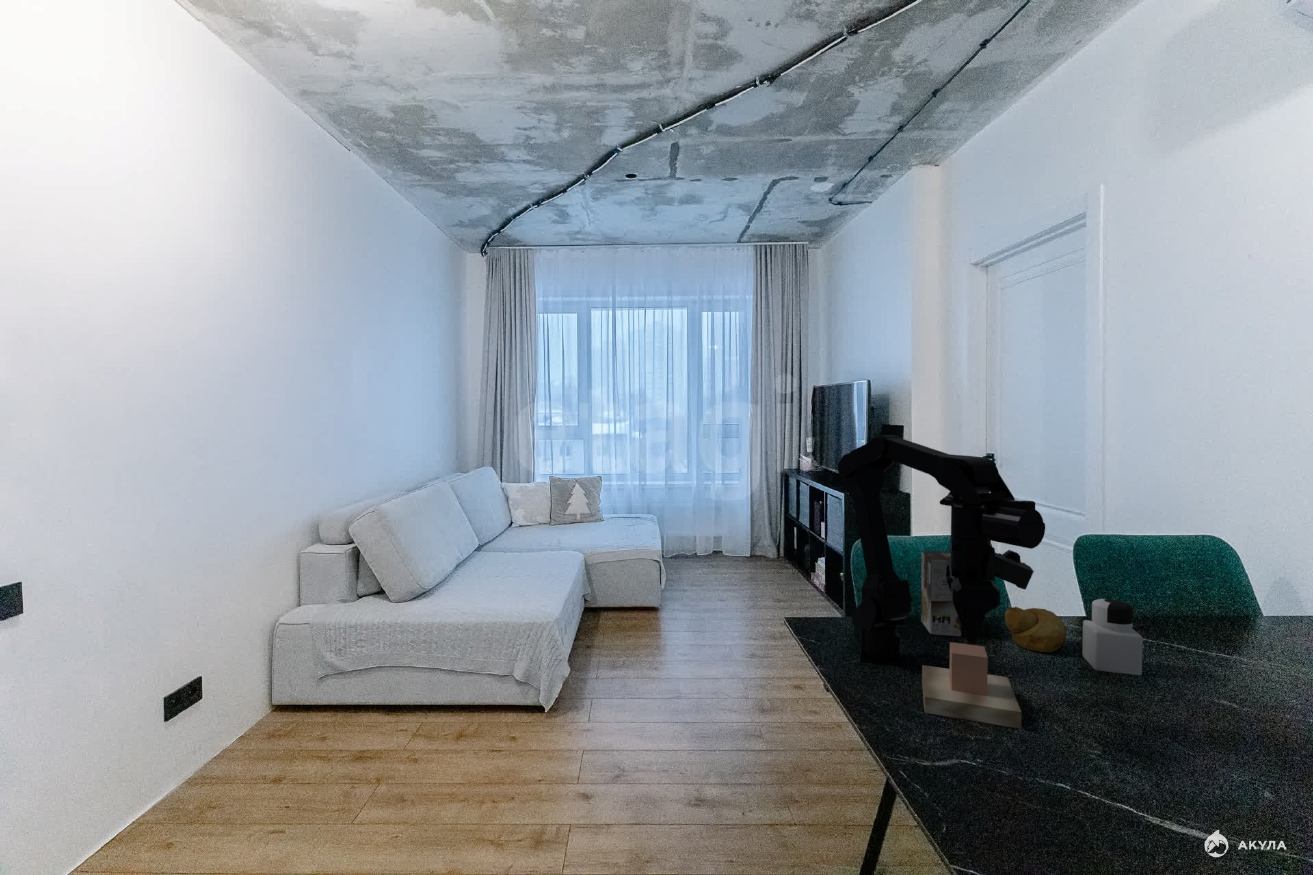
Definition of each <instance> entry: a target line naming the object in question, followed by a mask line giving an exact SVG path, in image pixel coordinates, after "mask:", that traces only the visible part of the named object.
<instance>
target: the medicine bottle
mask: <svg viewBox="0 0 1313 875" xmlns="http://www.w3.org/2000/svg"><path fill="white" fill-rule="evenodd" d="M1091 604H1092V605H1091V620H1088V619H1085V620H1083V621H1082V649H1081V650H1082V653H1081V654H1082V657H1083V659H1085V660H1086V662H1087V663H1089V665H1090V666H1091V667H1092V668H1093V669H1094V670H1095V671H1097V672H1098V671H1099V672H1105V673H1106V672H1107V673H1108V672H1109V673H1116V674H1123V675H1124V674H1126V675H1133V676H1142V674H1143V644H1144V642H1143V640H1144V639H1143V636H1142V635H1141V634H1139V633H1138V632H1137V631H1135V629H1134V628H1133V626H1134V608H1133V606H1132V605H1131V604H1129V603H1128V602H1125V601H1121V600H1118V599H1112V598H1098V599H1095V600H1093V601H1092V603H1091Z"/></svg>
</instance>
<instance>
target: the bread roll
mask: <svg viewBox="0 0 1313 875" xmlns="http://www.w3.org/2000/svg"><path fill="white" fill-rule="evenodd" d="M1004 621H1005V625H1006V627H1007V628H1008V630H1009V631H1010V634H1011V638H1012V640H1013V642H1014V644H1016V645H1017V646H1019V647H1020V648H1023V649H1027V650H1029V651H1034V652H1041V653H1052V652H1055V651H1057V650H1058V649H1060V648H1061V647H1062V646H1063V644H1064V643H1065V642H1066V640H1067V626H1066V625H1065V623H1064V621H1063V619H1062V618H1060V617H1059V616H1058V615H1056V614H1055V612H1053V611H1051V610H1047V609H1045V608H1040V607H1039V608H1037V607H1032V608H1026V609H1023V608H1020V607H1018V606H1013V607H1009V608H1008V609H1007V610H1006V611H1005V613H1004Z"/></svg>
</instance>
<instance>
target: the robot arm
mask: <svg viewBox="0 0 1313 875" xmlns="http://www.w3.org/2000/svg"><path fill="white" fill-rule="evenodd" d="M895 462H896V463H898V464H900V465H904V466H906V467H909V468H910V469H911V468H912V469H914V470H916V471H919V472H922V473H924V474H927V475H928V476H931V477H933V478H934V479H935V481H936V482H937V483H938V485H940V486H941V487H943V488H945V489H946V490H948V491H949V492H948V494H947V495H946V496H944V497H943V498H942V499H940V500H939V504H940V505H941V506H947V507H950V538H949V546H950V552H951V556H950V559H949V560H948V561H947V562H945V575H946V580H947V583H948V586H949V588H950V591H951V598H952V602H953V604H954V607H955V609H956V612H957V615H958V617H959V620H960V622H961V628H962V630H963V632H964V635H965V638H966V640H967V643H969V644H972V645H976V644H977V643H978V638H979V636H980V633H981V629H982V625H983V623H984V620H985V615H986V614H987V613H989V612H991V611H992V610H996V609H997V608H998V606H1000V605H1001V592H1000V591H999V589H998V587H997V586H996V585H995V584H994V583H993V581H994V582H995V581H996V578H997V579H1000V580H1002V581H1005V582H1007V583H1010V584H1013V585H1014V586H1016V587H1017V588H1019V589H1020V590H1021V589H1022V590H1027V587H1028V586H1029V583H1030V580H1031V579H1032V576H1033V574H1034V572H1035V571H1034V570H1033V568H1032V567H1031V566H1029V564H1026V563H1025V562H1022V561H1021V555H1020V554H1019V553H1018V552H1016V551H1014V550H1011V549H1008V550H1006V551H1005V552H1003V554H1002V553H1000V552H999V553H997V552H996V548H995V547H994V546H993V544H992V542H996V543H1001V544H1006V545H1011V546H1016V547H1020V548H1024V549H1025V548H1026V549H1030V550H1032V549H1034V548H1036V547H1038V546H1040V544H1041V543H1042V542H1043V539H1044V536H1045V532H1046V523H1045V522H1044V519H1043V516H1042V514H1041V513H1040V511H1038V510H1036V502H1035V501H1033V500H1016V499H1015V496H1014V495H1013V493H1012V492H1011V491H1010V489H1009V487H1008V485H1007V484H1006V482H1005V481H1004V479H1003V478H1002V476H1001V475H1000V473H999V469H998V467H997V463H996V462H995V461H994V460H992V459H990V458H989V457H982V456H974V455H962V454H951V453H950V454H949V453H946V452H943V451H940V450H938V449H934V448H931V447H928V446H925V445H922V444H920V443H917V442H914V441H910V440H909V439H904V438H902V437H900V436H899V435H895V434H894V435H893V434H891V435H887V434H882V435H877V436H876V437H874V438H872V439H871V440H870V441H869V442H867V443H865V444H863V445H861V446H859V447H856V448H855V449H853V450H851V451H850V452H849V453H845V454H843V456H842V457H840V460H839V462H838V463H837V472H838V476H839V479H840V483H841V485H842V488H843V489H844V491H845V492H846V493H847V494H848V495H849V497H850V498H851V499H852V501H853V507H854V512H855V518H856V522H857V523H856V524H857V529H858V532H859V534H858V535H859V539H860V543H861V544H860V545H861V549H862V556H863V562H864V566H865V572H866V574H865V578H864V581H863V584H862V586H861V589H860V590H861V591H860V593H861V602H860V604H858V605H857V606H856V607H855V608H854V609H853V610H852V611H851V612H850V615H851V621H852V624H853V625H854V626H857V627H858V628H860V648H859V649H860V650H859V656H858V659H859V661H863V662H864V661H865V662H871V663H879V664H883V665H884V664H887V665H891V666H894V665H895V666H896V665H897V660H899V659H900V633H899V632H897V627H901V626H902V627H903V626H905V624H906V622H907V619H908V616H909V615H910V613H911V612H912V603H913V602H914V600H913V598H912V596H911V591H910V583H909V581H908V580H907V579H902V578H900V576H899V575H898V574H897V573H896V572H895V570H894V569H895V568H894V564H893V558H892V554H891V549H890V543H889V537H888V534H887V533H888V532H887V528H886V523H885V518H884V512H883V507H882V502H881V501H882V500H881V494H882V491H883V487H884V484H885V483H886V477H885V472H886V471H887V470H888V469H890V468H892V466H893V465H894V463H895ZM950 574H951V576H952V577H950Z"/></svg>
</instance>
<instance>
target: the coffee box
mask: <svg viewBox="0 0 1313 875" xmlns="http://www.w3.org/2000/svg"><path fill="white" fill-rule="evenodd" d="M950 556H951V551H944V550H943V551H941V550H936V551H935V550H934V551H933V550H931V551H929V550H928V551H927V550H922V551H921V590H920V591H921V595H920V597H921V602H920V603H921V604H920V605H921V606H920V607H921V608H920V609H921V613H920V614H921V616H920V619H921V620H920V622H921V623H922V624H923V626H924V627H925V628H926V630H927V631H928V633H929V634H930V635H935V636H936V635H938V636H939V635H940V636H951V637H961V636H962V625H961V622H960V620H959V617H958V615H957V612H956V609H955V607H954V604H953V602H952V598H951V591H950V588H949V586H948V583H947V580H946V575H945V562H947V561H948V560H949V559H950ZM950 577H952V576H951V574H950Z"/></svg>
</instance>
